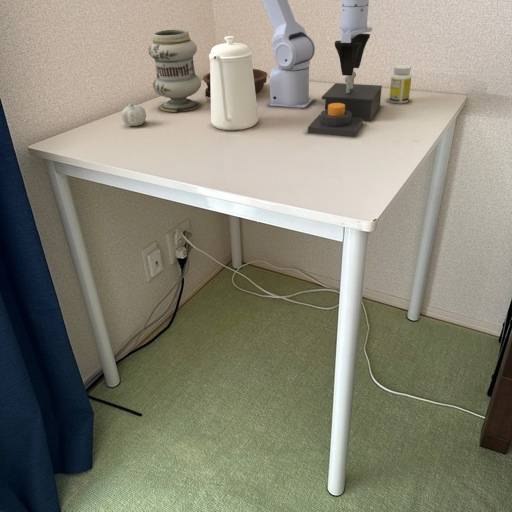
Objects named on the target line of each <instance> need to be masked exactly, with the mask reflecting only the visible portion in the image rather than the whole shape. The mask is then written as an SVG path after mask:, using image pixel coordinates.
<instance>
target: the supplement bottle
mask: <svg viewBox="0 0 512 512" xmlns="http://www.w3.org/2000/svg"><path fill="white" fill-rule="evenodd" d="M411 67H412V66H411V65H408V64H396V65H394V66H393V74H392V75H391V76H390V77H391V78H390V88H389V98H388V99H389V100H388V101H389V102H390V103H392V104H399V105H400V104H406V103H408V102H409V99H410V92H411V84H412V74H410V73H411V70H412V68H411Z"/></svg>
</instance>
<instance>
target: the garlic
mask: <svg viewBox="0 0 512 512" xmlns="http://www.w3.org/2000/svg"><path fill="white" fill-rule="evenodd" d="M121 119H122V120H121V121H122V122H123V123H124V124H125V126H126V125H127V126H129V127H137V126H140V125H142V124H144V123H145V122H146V119H147V112H146V110H145V108H144V107H142V106H141V105H138V104H133V103H131V102H129V104H128V105H127V106H125V107H124V108H123V109H122V113H121Z"/></svg>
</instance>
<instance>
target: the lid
mask: <svg viewBox="0 0 512 512" xmlns="http://www.w3.org/2000/svg"><path fill="white" fill-rule="evenodd" d="M356 77H357V72H356V71H354V70H353V73H352V75H351V76H346V75H345V77H344V83H339V82H335V83H334V84H333V85H331V87H330V88H329V89H328V90H327V91H326V92H325V93H324V94H323V95H322V96H321V100H323V101H324V100H340V101H355V102H371V103H372V101H373V100H374V99H375V97H376V96H377V94H378V93H379V91H380V90H381V89H383V85H376V84H361V83H359V84H358V83H357V84H356V83H354V82H355V79H356ZM381 91H382V90H381Z"/></svg>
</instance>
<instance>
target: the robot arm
mask: <svg viewBox="0 0 512 512" xmlns="http://www.w3.org/2000/svg"><path fill="white" fill-rule="evenodd" d="M261 3H262V4H263V7H264V9H265V12H266V15H267V17H268V19H269V21H270V24H271V27H272V28H273V35H272V37H271V41H270V43H271V45H272V48H273V59H274V61H275V63H276V64H277V66H273V67H272V69H271V71H270V75H269V95H270V97H269V98H270V100H269V101H270V103H269V106H271V107H282V108H283V107H284V108H298V109H305V108H307V107H308V106H309V105H310V104H311V103H312V102H313V101H314V98H313V97H309V95H310V93H309V91H310V65H311V60H312V59H313V58H314V56H315V52H316V44H315V42H314V40H313V39H312V38H311V36H309V35H308V33H307V32H306V29H305V27H303V26H302V25H301V23H298V22H297V21H296V19H295V17H294V14H293V11H292V8H291V6H290V4H289V1H288V0H261ZM369 4H370V0H341V9H340V10H341V11H340V27H339V30H338V31H339V34H340V40H336V41H334V48H335V50H336V51H337V54H338V58H339V63H340V71H341V75H342V76H345V77H346V76H351V75H352V73H353V71H354V69H359V68H360V67H361V63H362V60H363V54H364V51H365V48H366V45H367V43H368V41H369V39H370V38H371V34H370V33H372V31H373V27H371V26H368V18H369V16H368V15H369Z"/></svg>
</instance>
